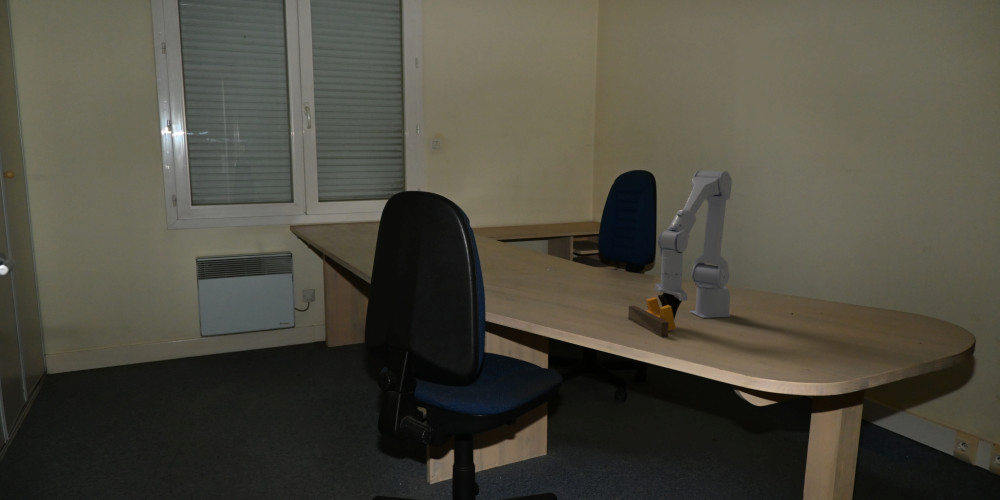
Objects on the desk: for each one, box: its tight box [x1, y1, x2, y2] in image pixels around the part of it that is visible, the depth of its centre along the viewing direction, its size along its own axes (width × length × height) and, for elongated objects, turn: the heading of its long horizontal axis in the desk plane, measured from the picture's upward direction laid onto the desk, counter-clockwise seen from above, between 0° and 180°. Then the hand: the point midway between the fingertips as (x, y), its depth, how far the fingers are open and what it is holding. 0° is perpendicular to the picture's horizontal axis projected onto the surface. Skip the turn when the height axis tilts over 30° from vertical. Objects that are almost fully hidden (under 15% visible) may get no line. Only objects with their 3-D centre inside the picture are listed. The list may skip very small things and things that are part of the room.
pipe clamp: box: [645, 296, 676, 332], centre depth 188 cm, size 12×4×6 cm, turn 9°
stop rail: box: [627, 305, 669, 338], centre depth 188 cm, size 2×20×4 cm, turn 14°
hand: (669, 320), depth 189 cm, fingers closed
